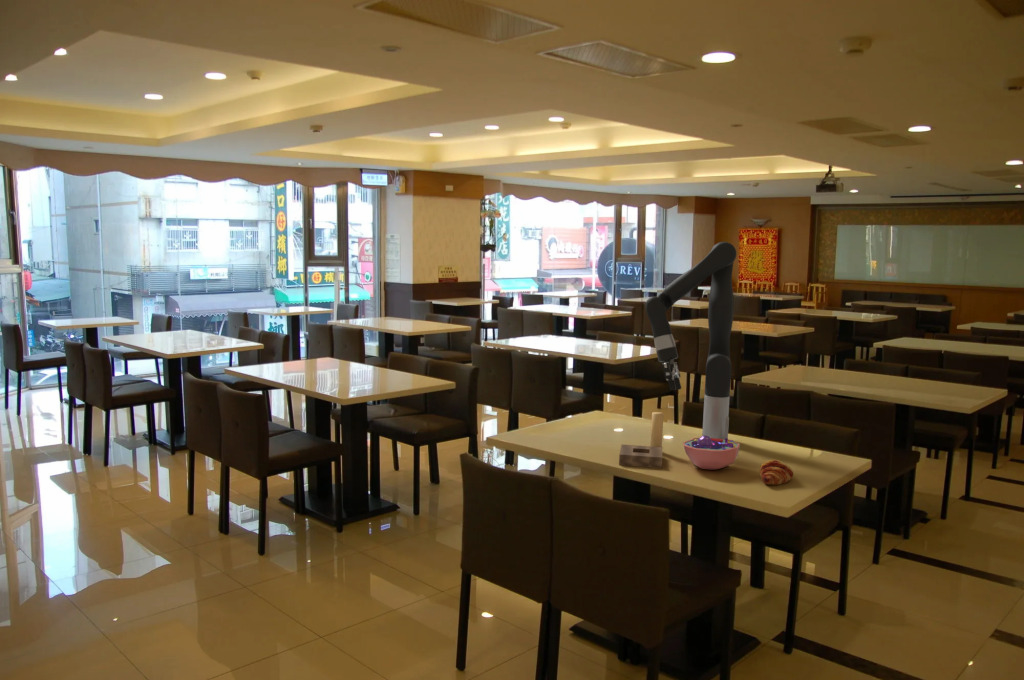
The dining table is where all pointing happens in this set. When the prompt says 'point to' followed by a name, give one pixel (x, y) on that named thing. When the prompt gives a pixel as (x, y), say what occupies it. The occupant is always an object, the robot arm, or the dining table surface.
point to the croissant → (775, 472)
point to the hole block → (640, 456)
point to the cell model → (711, 452)
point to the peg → (656, 429)
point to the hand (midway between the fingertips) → (675, 389)
